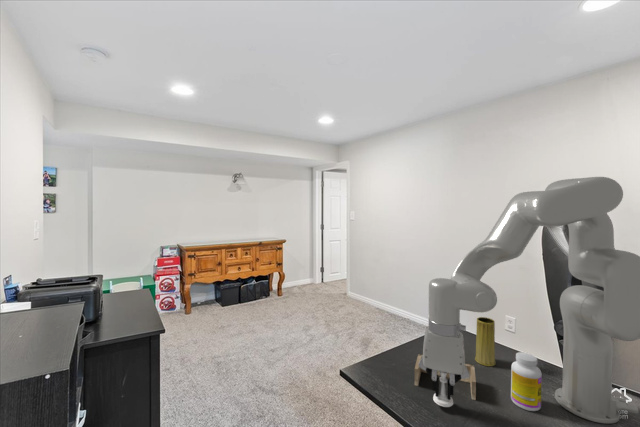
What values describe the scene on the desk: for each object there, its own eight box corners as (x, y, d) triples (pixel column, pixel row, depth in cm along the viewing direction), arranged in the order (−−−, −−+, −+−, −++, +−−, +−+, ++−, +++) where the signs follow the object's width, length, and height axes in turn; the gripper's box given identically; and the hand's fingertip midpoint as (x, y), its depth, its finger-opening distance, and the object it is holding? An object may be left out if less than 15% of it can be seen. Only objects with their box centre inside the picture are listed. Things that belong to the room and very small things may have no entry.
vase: (495, 360, 100) (496, 318, 100) (495, 368, 95) (496, 325, 94) (475, 355, 103) (476, 315, 103) (474, 363, 98) (474, 321, 98)
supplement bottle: (542, 416, 74) (543, 366, 74) (511, 406, 78) (511, 358, 77) (539, 400, 80) (540, 354, 79) (510, 392, 83) (511, 348, 83)
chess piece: (455, 408, 75) (455, 370, 75) (434, 405, 76) (435, 367, 76) (450, 395, 80) (451, 359, 79) (431, 393, 81) (431, 358, 80)
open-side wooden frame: (473, 381, 88) (474, 365, 88) (475, 400, 80) (475, 382, 80) (418, 369, 95) (418, 354, 95) (414, 385, 87) (414, 368, 87)
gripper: (477, 326, 77) (476, 394, 78) (413, 316, 84) (413, 379, 85) (479, 338, 70) (478, 413, 71) (410, 327, 77) (409, 395, 78)
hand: (443, 394), depth 78 cm, fingers closed on chess piece
